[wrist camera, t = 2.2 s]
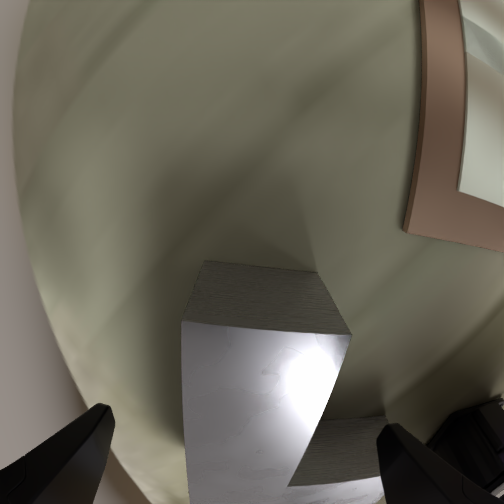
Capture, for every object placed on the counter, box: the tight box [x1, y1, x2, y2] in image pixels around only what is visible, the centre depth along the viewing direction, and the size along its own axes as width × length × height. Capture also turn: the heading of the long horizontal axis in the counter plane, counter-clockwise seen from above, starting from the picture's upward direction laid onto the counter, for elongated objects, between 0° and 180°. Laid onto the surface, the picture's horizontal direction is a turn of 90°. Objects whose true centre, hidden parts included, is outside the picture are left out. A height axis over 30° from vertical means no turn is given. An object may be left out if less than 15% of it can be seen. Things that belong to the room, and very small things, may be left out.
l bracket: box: [181, 261, 389, 504], centre depth 10 cm, size 12×10×4 cm
